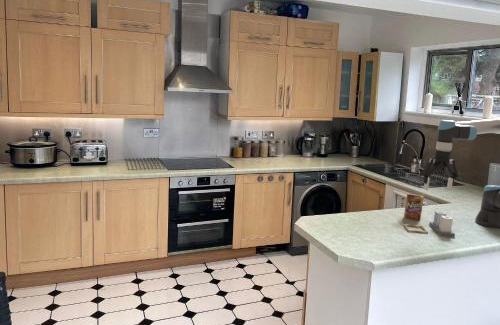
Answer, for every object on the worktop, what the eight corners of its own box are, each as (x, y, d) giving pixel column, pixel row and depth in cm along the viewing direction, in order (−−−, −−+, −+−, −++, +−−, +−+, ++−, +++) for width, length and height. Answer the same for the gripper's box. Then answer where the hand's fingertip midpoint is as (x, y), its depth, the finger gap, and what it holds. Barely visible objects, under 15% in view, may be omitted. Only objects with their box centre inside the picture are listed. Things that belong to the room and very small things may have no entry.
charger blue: (441, 227, 228) (443, 211, 226) (444, 229, 223) (446, 213, 222) (432, 226, 228) (435, 210, 227) (435, 229, 224) (437, 212, 222)
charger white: (447, 232, 219) (449, 216, 217) (450, 235, 214) (452, 218, 213) (438, 231, 219) (440, 215, 218) (441, 234, 215) (443, 217, 213)
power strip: (425, 222, 238) (425, 216, 237) (437, 224, 237) (438, 217, 236) (439, 237, 213) (440, 231, 212) (454, 239, 212) (455, 232, 212)
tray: (421, 229, 225) (422, 225, 225) (427, 235, 215) (428, 231, 215) (402, 227, 226) (403, 223, 226) (407, 233, 216) (408, 229, 216)
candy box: (403, 219, 241) (406, 194, 239) (404, 217, 245) (407, 192, 242) (419, 222, 237) (423, 196, 234) (420, 220, 241) (424, 195, 238)
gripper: (459, 149, 222) (453, 188, 225) (417, 148, 217) (412, 187, 220) (469, 152, 214) (463, 192, 218) (426, 150, 209) (420, 191, 213)
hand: (437, 189), depth 219 cm, fingers open, 13 cm apart
